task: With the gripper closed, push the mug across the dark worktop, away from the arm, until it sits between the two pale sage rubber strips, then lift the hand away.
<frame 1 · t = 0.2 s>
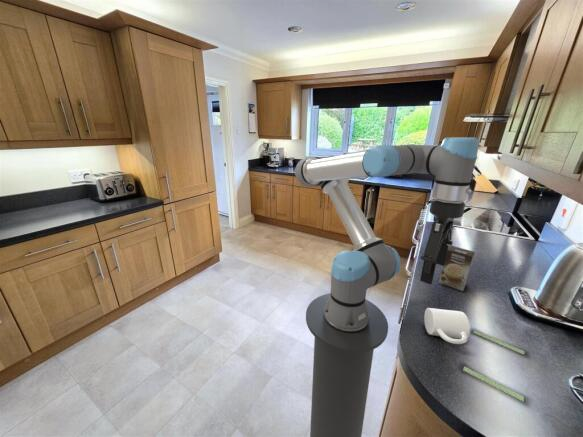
hand: (432, 272, 69), 23 cm above the worktop, tool pointing down, fingers open, 13 cm apart
coffee box: (451, 284, 104), on the worktop
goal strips: (494, 360, 68), on the worktop
mug: (445, 338, 76), on the worktop
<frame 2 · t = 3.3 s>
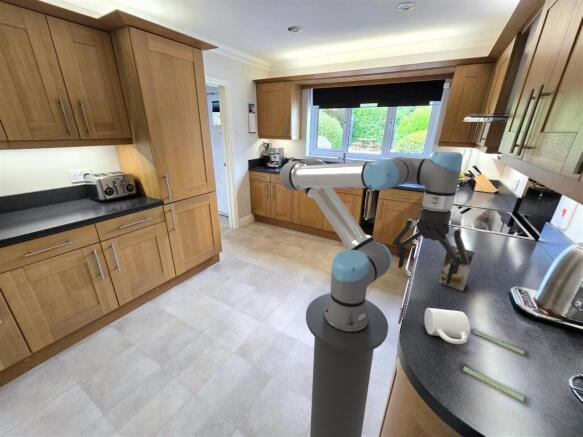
hand: (423, 273, 75), 19 cm above the worktop, tool pointing down, fingers open, 13 cm apart
nothing on the worktop moved.
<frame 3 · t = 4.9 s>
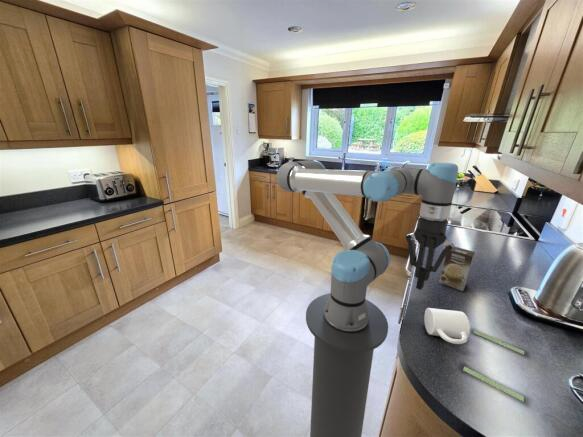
hand: (419, 287, 78), 14 cm above the worktop, tool pointing down, fingers closed
nothing on the worktop moved.
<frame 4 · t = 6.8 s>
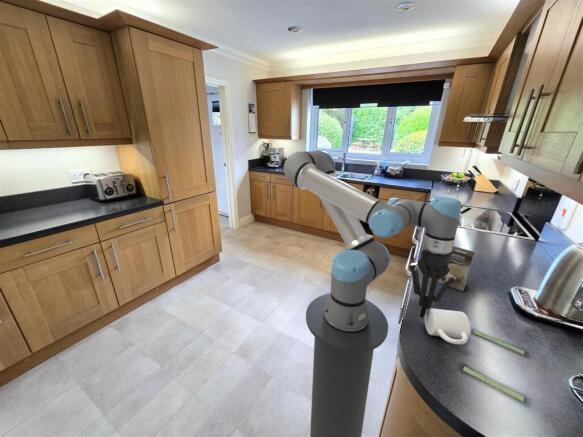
hand: (422, 315, 79), 4 cm above the worktop, tool pointing down, fingers closed
mug: (446, 338, 76), on the worktop, touching gripper
everything else where it was.
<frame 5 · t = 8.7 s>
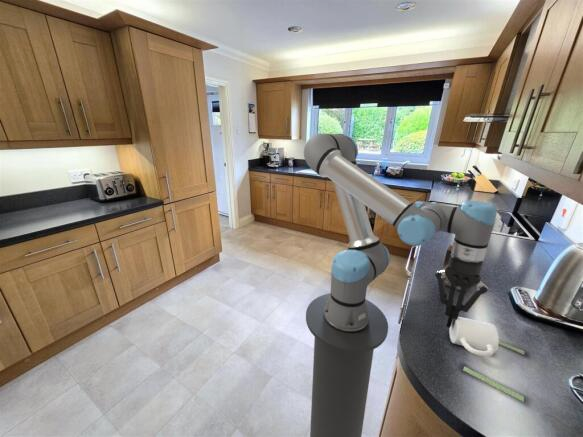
hand: (449, 324, 75), 4 cm above the worktop, tool pointing down, fingers closed
mug: (470, 349, 72), on the worktop, touching gripper
everything else where it was.
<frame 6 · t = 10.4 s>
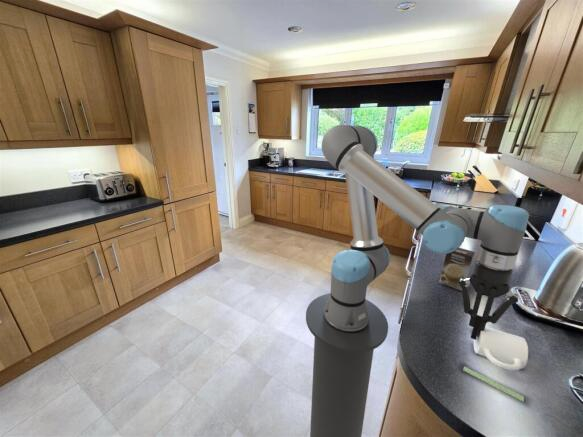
hand: (473, 336, 71), 4 cm above the worktop, tool pointing down, fingers closed
mug: (496, 362, 68), on the worktop, touching gripper
everything else where it was.
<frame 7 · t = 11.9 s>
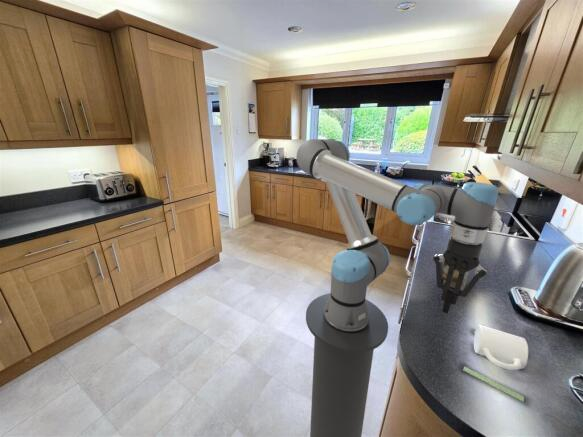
hand: (445, 310, 74), 9 cm above the worktop, tool pointing down, fingers closed
mug: (496, 362, 68), on the worktop
everything else where it was.
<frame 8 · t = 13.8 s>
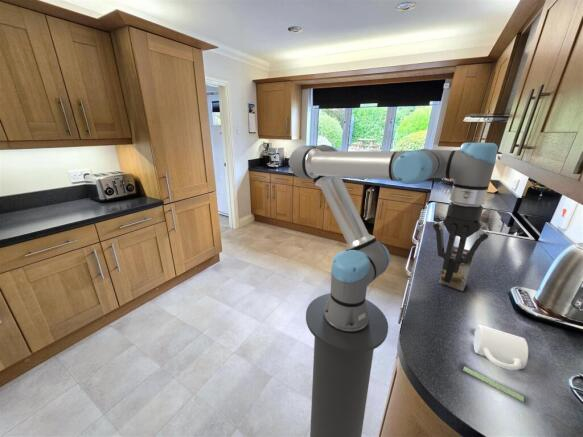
hand: (447, 280, 72), 19 cm above the worktop, tool pointing down, fingers closed
nothing on the worktop moved.
at the end: mug inside the target area (0.4 cm from its centre), on the worktop; mug tilted 0° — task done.
